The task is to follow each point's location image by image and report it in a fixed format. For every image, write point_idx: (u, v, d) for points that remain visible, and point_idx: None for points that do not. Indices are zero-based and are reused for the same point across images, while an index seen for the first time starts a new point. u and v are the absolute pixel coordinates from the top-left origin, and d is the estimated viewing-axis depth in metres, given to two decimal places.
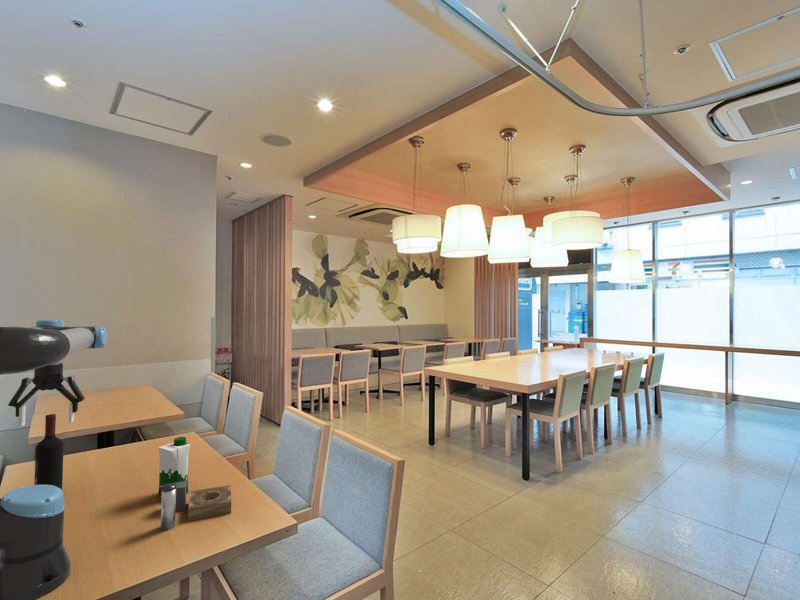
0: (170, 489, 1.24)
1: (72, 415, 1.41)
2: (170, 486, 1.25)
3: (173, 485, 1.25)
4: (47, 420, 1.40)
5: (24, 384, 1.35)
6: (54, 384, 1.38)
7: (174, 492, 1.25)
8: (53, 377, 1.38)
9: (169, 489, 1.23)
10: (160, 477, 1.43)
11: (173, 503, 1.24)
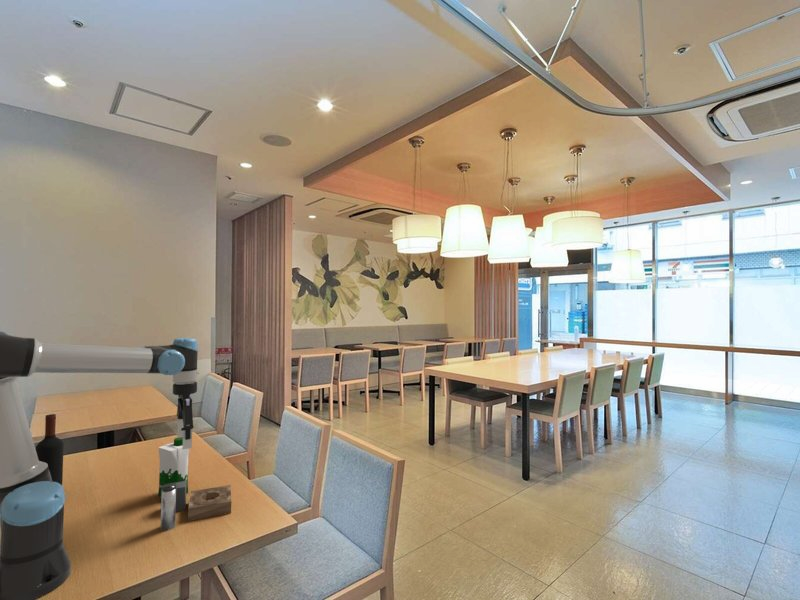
0: (170, 489, 1.24)
1: (186, 442, 1.32)
2: (170, 486, 1.25)
3: (173, 485, 1.25)
4: (47, 420, 1.40)
5: (178, 398, 1.42)
6: (180, 404, 1.35)
7: (174, 492, 1.25)
8: (182, 397, 1.36)
9: (169, 489, 1.23)
10: (160, 477, 1.43)
11: (173, 503, 1.24)
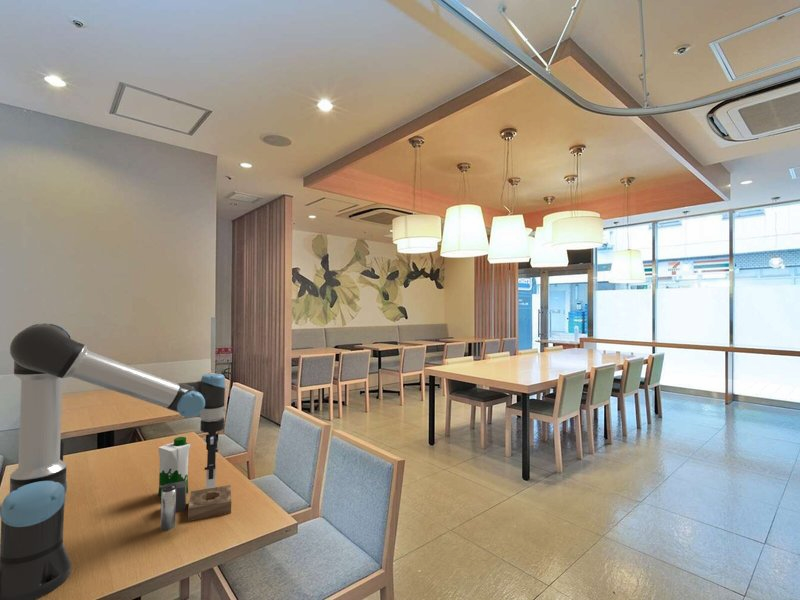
0: (170, 489, 1.24)
1: (209, 481, 1.31)
2: (170, 486, 1.25)
3: (173, 485, 1.25)
4: None
5: None
6: (206, 442, 1.35)
7: (174, 492, 1.25)
8: None
9: (169, 489, 1.23)
10: (160, 477, 1.43)
11: (173, 503, 1.24)
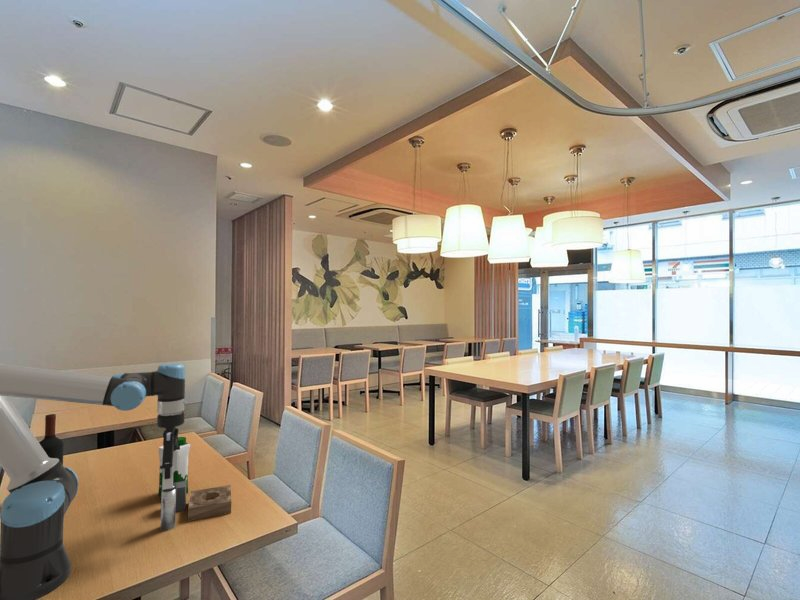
0: (170, 489, 1.24)
1: (166, 481, 1.18)
2: None
3: (173, 485, 1.25)
4: (47, 420, 1.40)
5: None
6: None
7: (174, 492, 1.25)
8: None
9: (169, 489, 1.23)
10: (160, 477, 1.43)
11: (173, 503, 1.24)
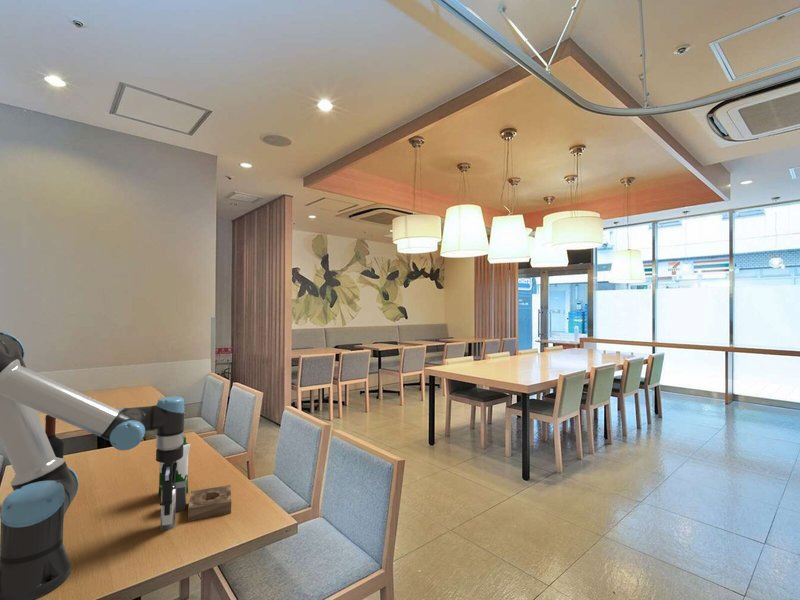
0: None
1: (165, 517, 1.22)
2: None
3: (173, 485, 1.25)
4: (47, 420, 1.40)
5: None
6: (162, 473, 1.23)
7: (174, 492, 1.25)
8: None
9: None
10: (160, 477, 1.43)
11: (173, 503, 1.24)
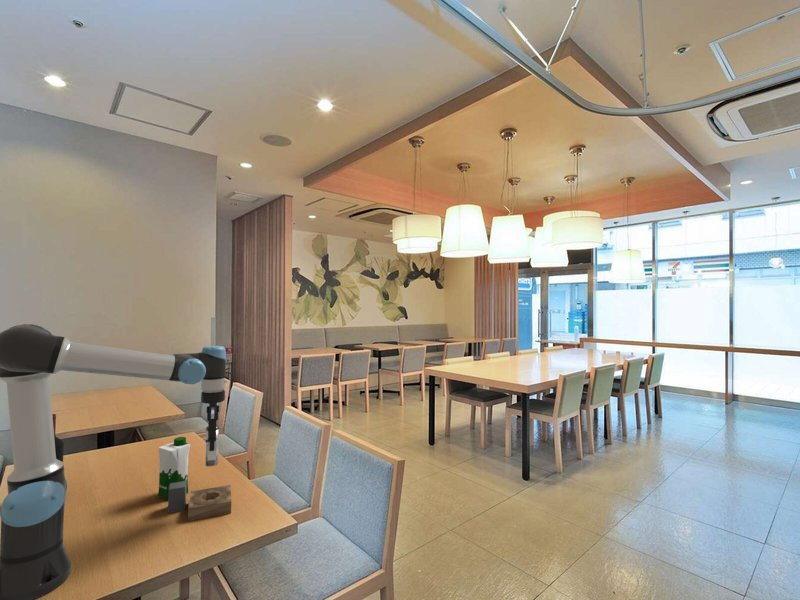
0: None
1: (210, 453, 1.35)
2: None
3: (216, 426, 1.38)
4: None
5: None
6: (207, 413, 1.35)
7: (217, 432, 1.37)
8: (209, 404, 1.35)
9: None
10: (160, 477, 1.43)
11: (216, 442, 1.37)
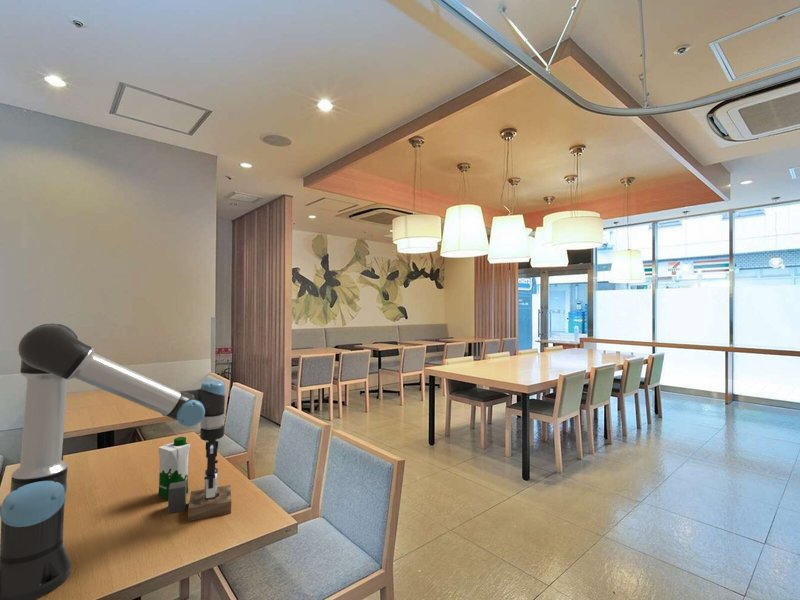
0: None
1: (209, 490, 1.32)
2: None
3: (215, 469, 1.37)
4: None
5: None
6: (206, 450, 1.35)
7: (216, 476, 1.37)
8: (208, 441, 1.35)
9: None
10: (160, 477, 1.43)
11: (215, 486, 1.37)
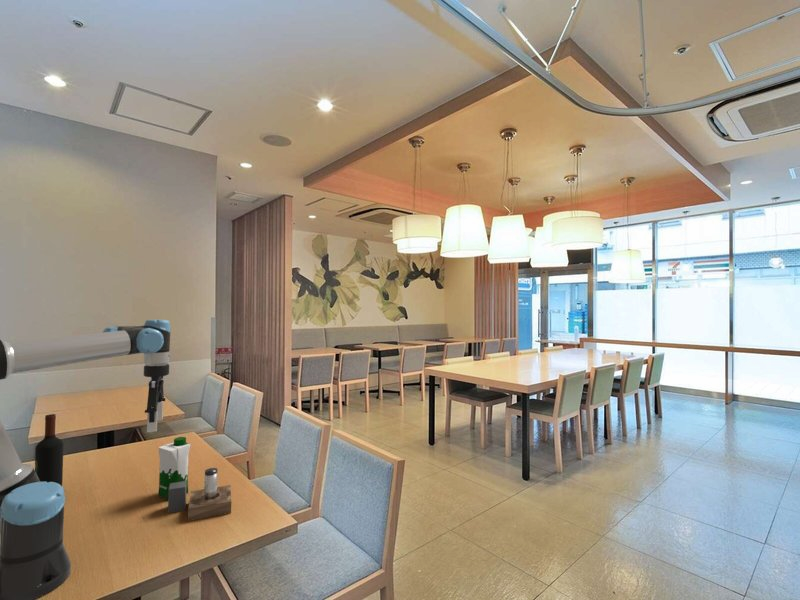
0: (212, 473, 1.36)
1: (150, 425, 1.29)
2: (212, 470, 1.37)
3: (215, 470, 1.37)
4: (47, 420, 1.40)
5: None
6: None
7: (216, 476, 1.37)
8: None
9: (212, 473, 1.35)
10: (160, 477, 1.43)
11: (215, 486, 1.36)
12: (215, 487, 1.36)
